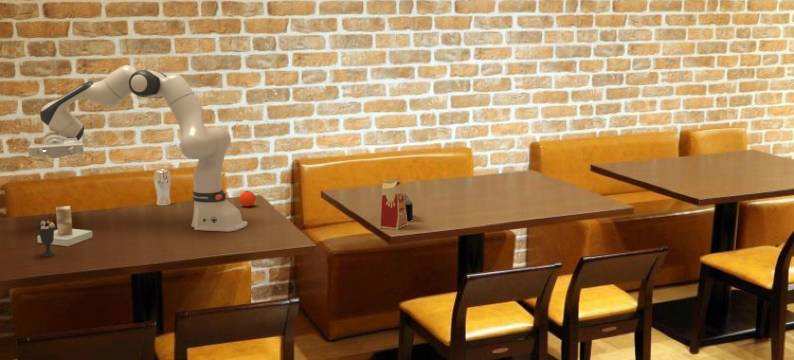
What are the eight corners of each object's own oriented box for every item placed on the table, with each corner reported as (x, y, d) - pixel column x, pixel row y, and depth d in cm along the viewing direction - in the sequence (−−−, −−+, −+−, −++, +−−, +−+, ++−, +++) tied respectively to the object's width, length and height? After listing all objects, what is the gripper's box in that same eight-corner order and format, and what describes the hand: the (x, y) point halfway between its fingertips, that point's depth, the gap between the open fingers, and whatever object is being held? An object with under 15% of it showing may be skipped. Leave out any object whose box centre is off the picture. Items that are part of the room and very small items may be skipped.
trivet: (92, 237, 365) (92, 230, 364) (67, 246, 352) (67, 239, 351) (63, 233, 370) (63, 227, 369) (37, 242, 357) (37, 236, 356)
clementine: (237, 205, 418) (236, 189, 416) (252, 203, 421) (252, 188, 419) (242, 209, 411) (241, 192, 409) (257, 207, 414) (257, 191, 412)
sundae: (62, 252, 344) (59, 212, 341) (49, 257, 337) (46, 216, 334) (47, 251, 346) (44, 210, 343) (34, 255, 339) (31, 215, 336)
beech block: (71, 231, 364) (69, 205, 362) (72, 234, 359) (70, 208, 357) (57, 232, 362) (55, 207, 360) (58, 235, 357) (56, 209, 355)
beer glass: (167, 206, 416) (165, 172, 414) (152, 205, 418) (151, 171, 415) (174, 202, 423) (172, 169, 420) (159, 201, 425) (158, 168, 422)
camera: (420, 220, 390) (420, 196, 388) (406, 222, 387) (406, 198, 385) (400, 213, 403) (400, 190, 401) (387, 215, 399) (387, 191, 397)
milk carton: (407, 225, 382) (407, 176, 378) (397, 230, 374) (397, 180, 370) (387, 222, 386) (386, 174, 382) (377, 228, 378) (376, 178, 374)
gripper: (26, 140, 373) (27, 145, 361) (80, 137, 381) (84, 142, 368) (27, 156, 374) (28, 162, 362) (81, 152, 382) (85, 158, 370)
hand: (57, 152), depth 365 cm, fingers open, 8 cm apart
